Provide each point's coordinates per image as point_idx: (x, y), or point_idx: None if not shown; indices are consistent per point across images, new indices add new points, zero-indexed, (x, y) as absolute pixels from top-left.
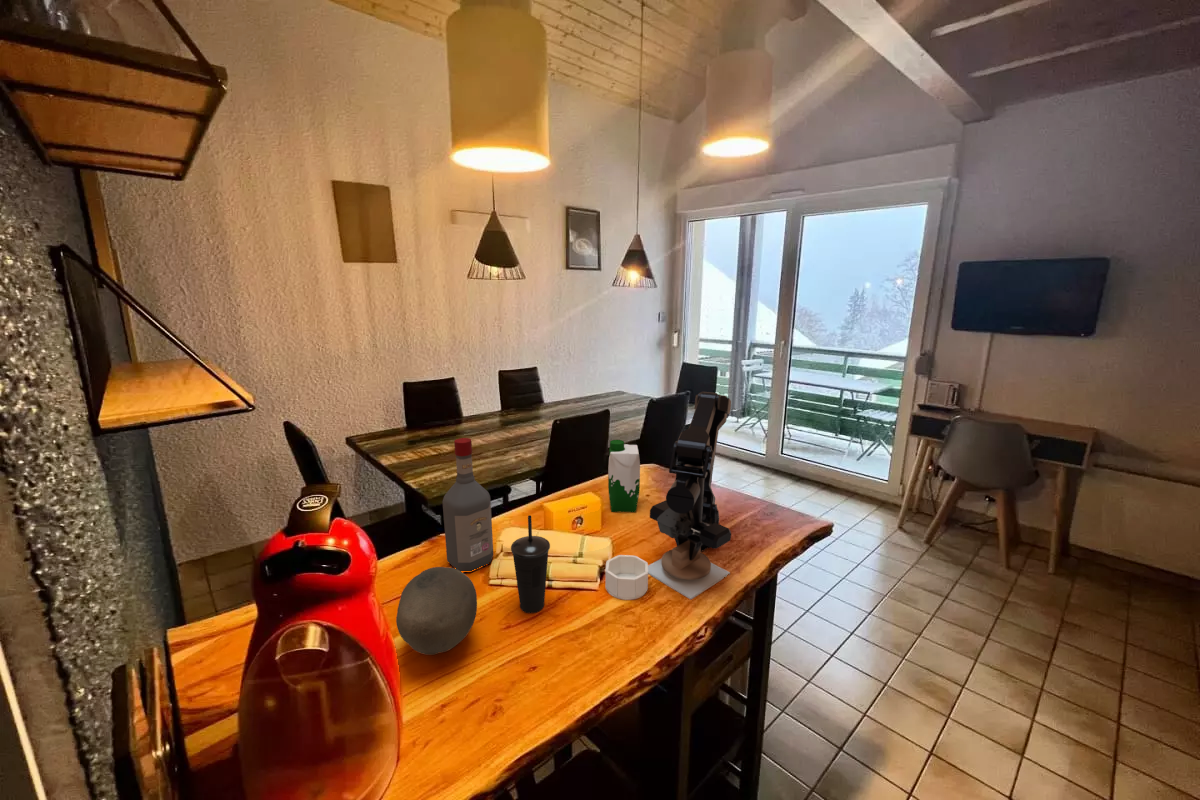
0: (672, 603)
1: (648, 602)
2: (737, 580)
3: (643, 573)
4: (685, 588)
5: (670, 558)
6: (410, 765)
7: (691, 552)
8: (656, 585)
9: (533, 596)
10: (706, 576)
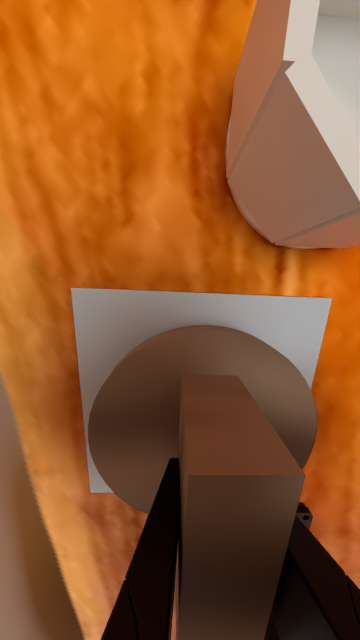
0: (104, 212)
1: (176, 132)
2: (56, 477)
3: (311, 12)
4: (127, 322)
5: (272, 409)
6: None
7: (155, 531)
8: (225, 261)
9: None
10: None
